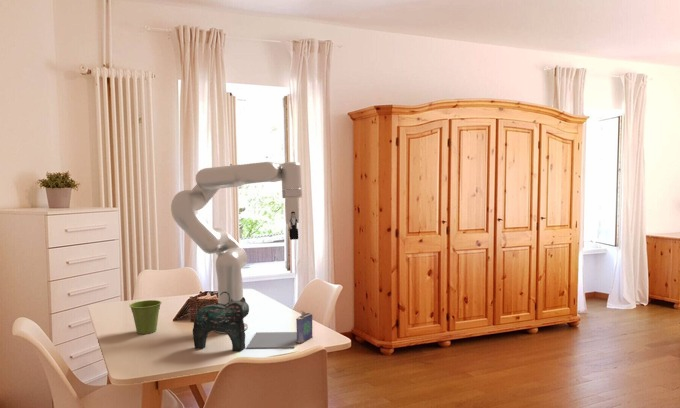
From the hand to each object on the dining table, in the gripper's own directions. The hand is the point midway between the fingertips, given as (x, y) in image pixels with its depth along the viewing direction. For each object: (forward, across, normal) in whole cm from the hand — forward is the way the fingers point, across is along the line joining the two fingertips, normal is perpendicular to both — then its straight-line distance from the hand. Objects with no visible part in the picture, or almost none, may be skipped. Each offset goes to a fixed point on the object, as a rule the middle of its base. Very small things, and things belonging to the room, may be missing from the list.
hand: (293, 238), depth 195 cm
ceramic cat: (+36, +19, -27) cm, 49 cm away
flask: (+36, +14, +2) cm, 39 cm away
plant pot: (+35, -8, -59) cm, 69 cm away
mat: (+36, +13, -9) cm, 39 cm away
